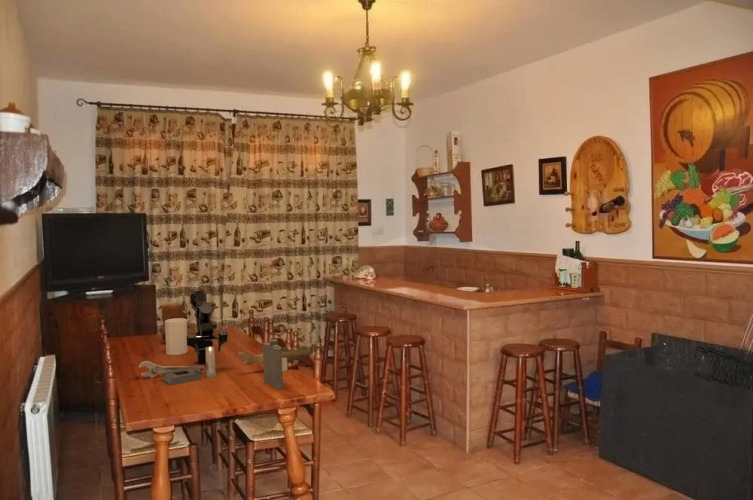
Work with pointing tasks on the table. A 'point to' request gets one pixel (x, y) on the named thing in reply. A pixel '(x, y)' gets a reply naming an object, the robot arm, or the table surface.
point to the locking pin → (210, 362)
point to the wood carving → (286, 357)
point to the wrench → (163, 369)
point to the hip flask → (273, 364)
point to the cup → (176, 336)
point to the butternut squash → (170, 313)
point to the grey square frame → (181, 376)
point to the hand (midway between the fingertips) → (209, 353)
